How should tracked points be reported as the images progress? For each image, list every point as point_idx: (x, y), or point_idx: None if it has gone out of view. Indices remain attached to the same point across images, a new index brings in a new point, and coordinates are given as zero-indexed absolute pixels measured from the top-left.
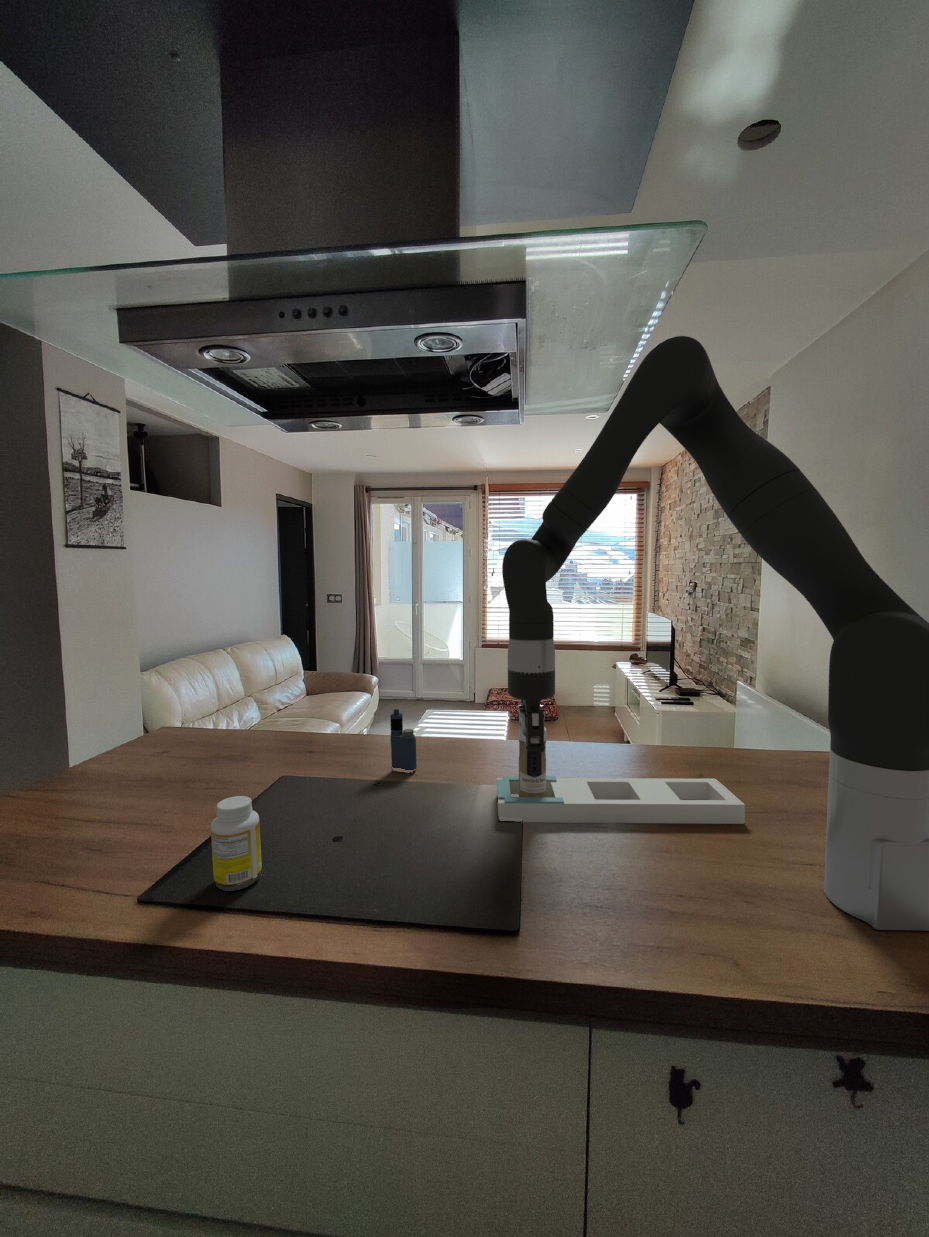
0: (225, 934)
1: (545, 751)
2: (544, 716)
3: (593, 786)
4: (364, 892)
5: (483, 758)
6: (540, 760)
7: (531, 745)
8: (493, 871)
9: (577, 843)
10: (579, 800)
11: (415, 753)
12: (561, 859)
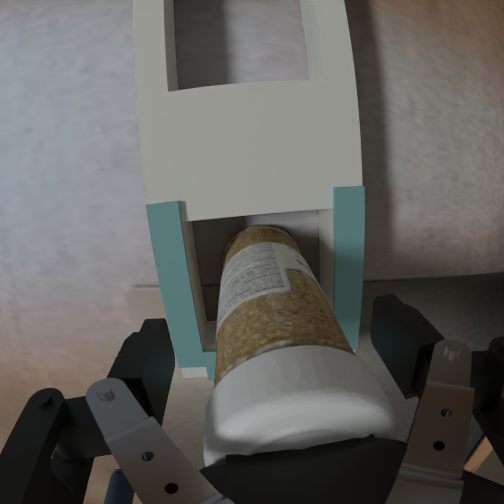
0: (478, 460)
1: (292, 309)
2: (460, 489)
3: (170, 71)
4: (472, 421)
5: (5, 368)
6: (420, 325)
7: (502, 398)
8: (484, 313)
9: (430, 161)
10: (336, 132)
11: (116, 497)
12: (475, 204)
